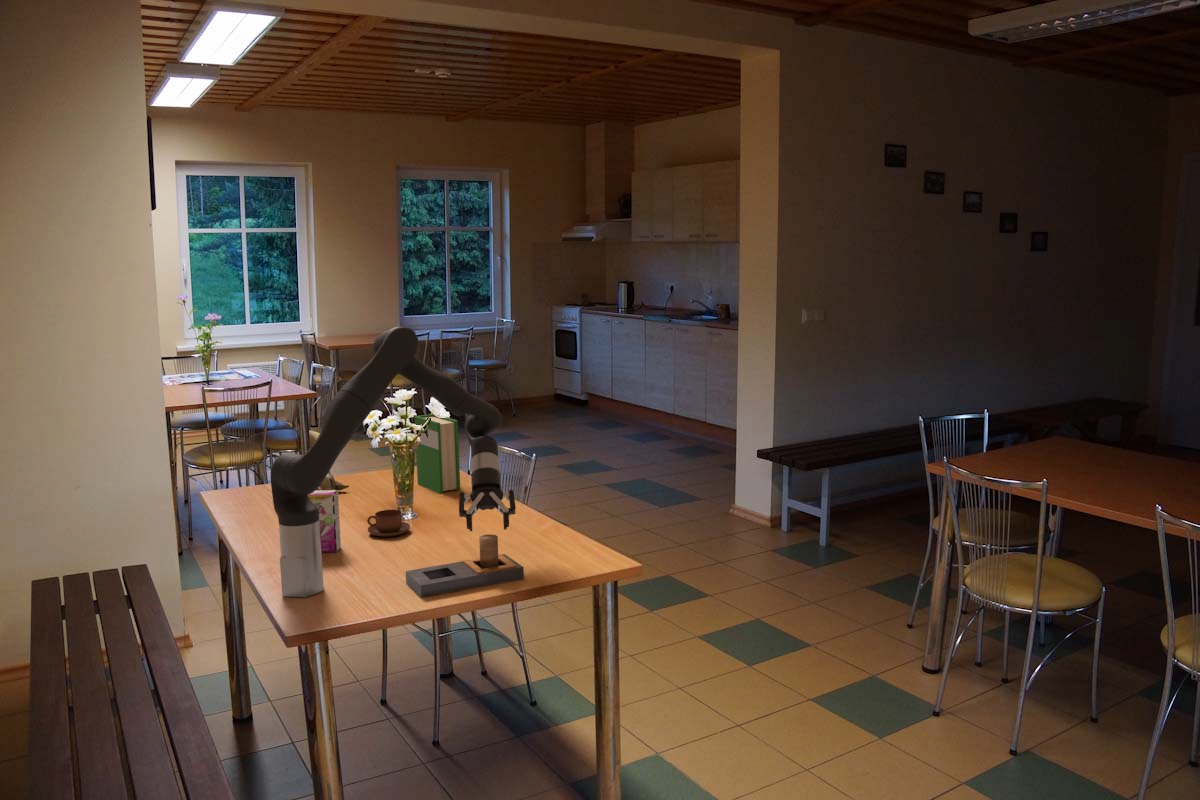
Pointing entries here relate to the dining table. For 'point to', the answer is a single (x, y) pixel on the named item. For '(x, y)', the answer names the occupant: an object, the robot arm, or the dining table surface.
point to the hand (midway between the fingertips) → (488, 528)
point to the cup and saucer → (387, 524)
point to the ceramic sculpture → (331, 484)
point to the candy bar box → (328, 518)
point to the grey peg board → (462, 576)
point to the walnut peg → (488, 551)
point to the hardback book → (438, 455)
